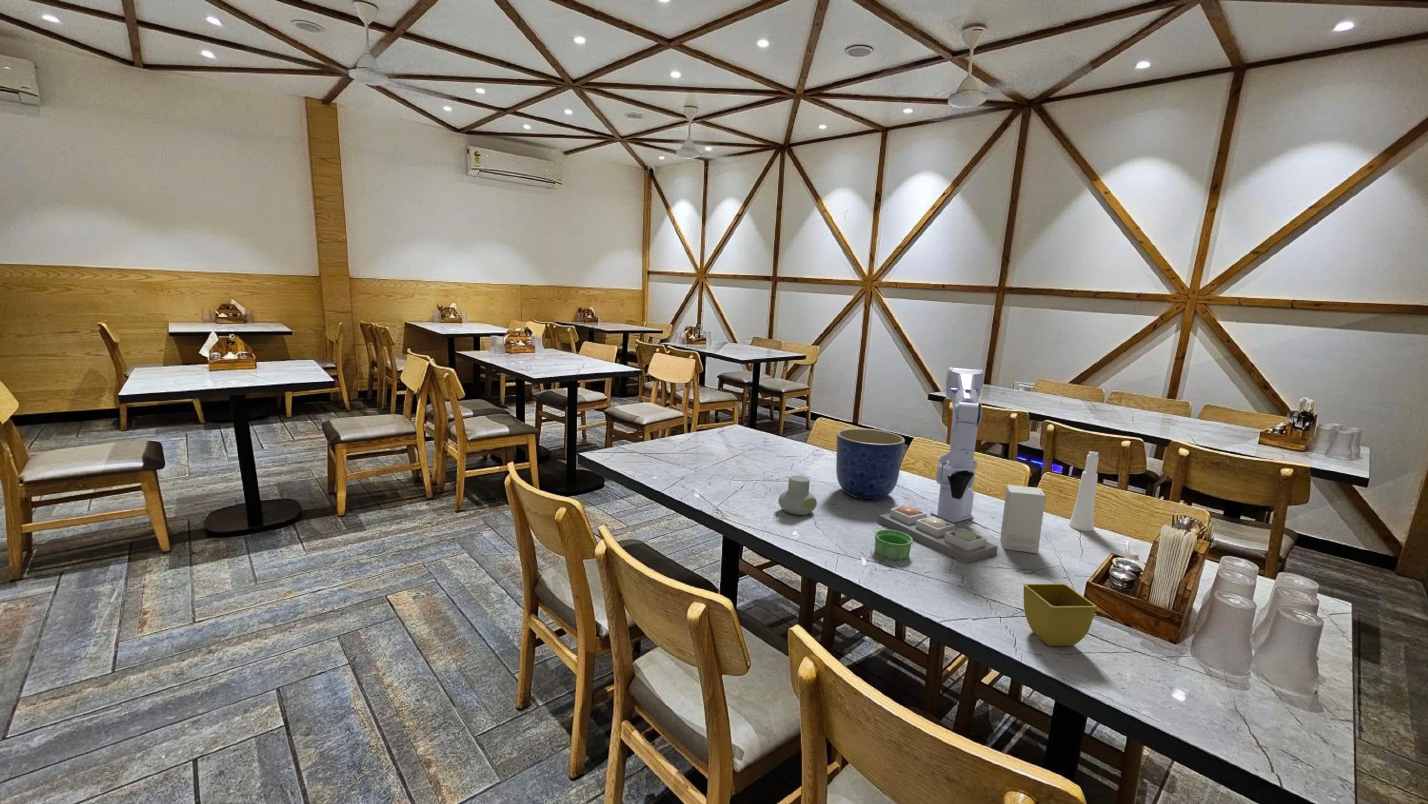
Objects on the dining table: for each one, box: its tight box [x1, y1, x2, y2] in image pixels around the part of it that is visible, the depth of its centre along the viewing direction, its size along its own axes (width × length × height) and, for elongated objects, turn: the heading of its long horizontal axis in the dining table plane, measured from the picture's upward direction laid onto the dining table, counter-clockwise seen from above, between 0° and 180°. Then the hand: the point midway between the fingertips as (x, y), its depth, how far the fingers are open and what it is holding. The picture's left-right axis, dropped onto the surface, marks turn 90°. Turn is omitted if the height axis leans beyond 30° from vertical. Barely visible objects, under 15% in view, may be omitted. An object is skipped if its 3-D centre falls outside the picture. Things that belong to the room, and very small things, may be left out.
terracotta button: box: [898, 505, 919, 516], centre depth 161 cm, size 5×5×2 cm
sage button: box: [955, 528, 977, 542], centre depth 146 cm, size 5×5×2 cm
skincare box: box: [999, 484, 1047, 554], centre depth 149 cm, size 8×7×16 cm
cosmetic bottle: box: [1068, 451, 1100, 532], centre depth 164 cm, size 6×6×22 cm
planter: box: [835, 427, 906, 500], centre depth 184 cm, size 21×21×19 cm
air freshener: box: [777, 475, 818, 516], centre depth 168 cm, size 11×8×10 cm
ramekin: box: [874, 529, 914, 561], centre depth 143 cm, size 9×9×4 cm
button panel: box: [877, 505, 998, 564], centre depth 154 cm, size 12×28×4 cm, turn 31°
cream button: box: [925, 516, 947, 528], centre depth 154 cm, size 5×5×2 cm
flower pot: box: [1023, 583, 1098, 647], centre depth 109 cm, size 9×9×9 cm
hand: (956, 497), depth 154 cm, fingers closed
